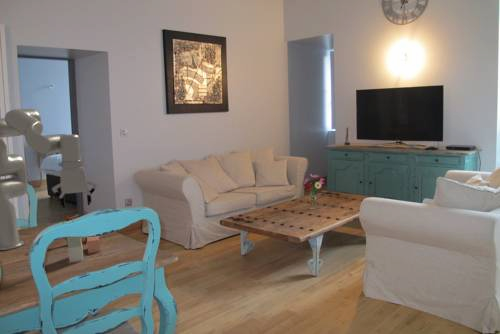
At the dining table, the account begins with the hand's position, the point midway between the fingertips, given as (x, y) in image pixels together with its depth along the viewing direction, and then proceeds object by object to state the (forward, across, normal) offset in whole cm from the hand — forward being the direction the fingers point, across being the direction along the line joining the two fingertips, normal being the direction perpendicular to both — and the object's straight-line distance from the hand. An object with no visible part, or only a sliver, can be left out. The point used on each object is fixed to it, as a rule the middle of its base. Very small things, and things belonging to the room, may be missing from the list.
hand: (76, 205), depth 187 cm
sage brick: (+16, -2, -3) cm, 16 cm away
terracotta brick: (+22, +5, +6) cm, 24 cm away
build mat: (+22, -2, -3) cm, 22 cm away
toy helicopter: (+22, -7, +22) cm, 32 cm away
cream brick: (+22, -2, -3) cm, 22 cm away
